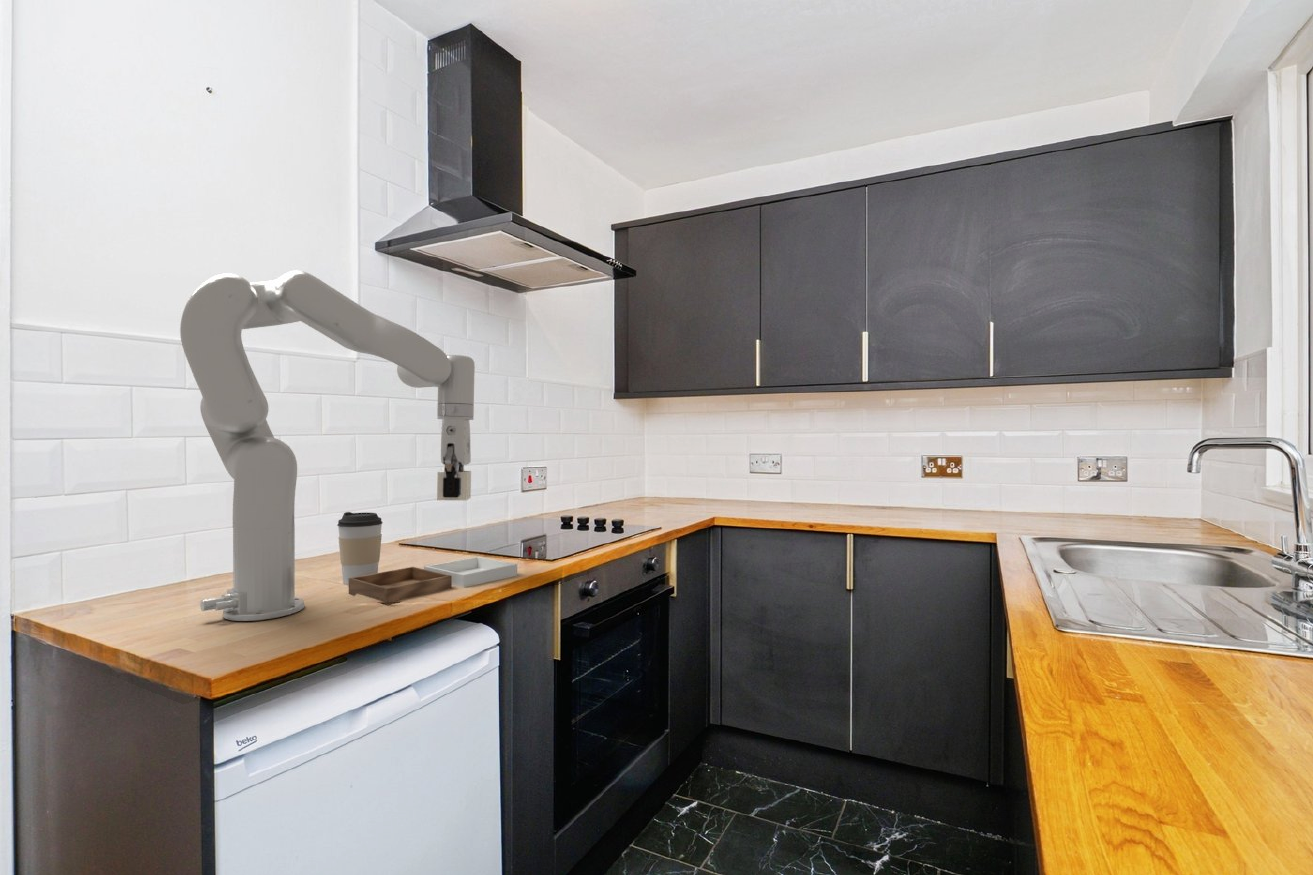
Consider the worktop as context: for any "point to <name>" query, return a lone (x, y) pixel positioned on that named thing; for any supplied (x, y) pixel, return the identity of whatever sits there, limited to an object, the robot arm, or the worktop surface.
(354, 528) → the coffee cup
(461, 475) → the letter cube
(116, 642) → the worktop surface
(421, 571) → the walnut tray
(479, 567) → the grey tray
